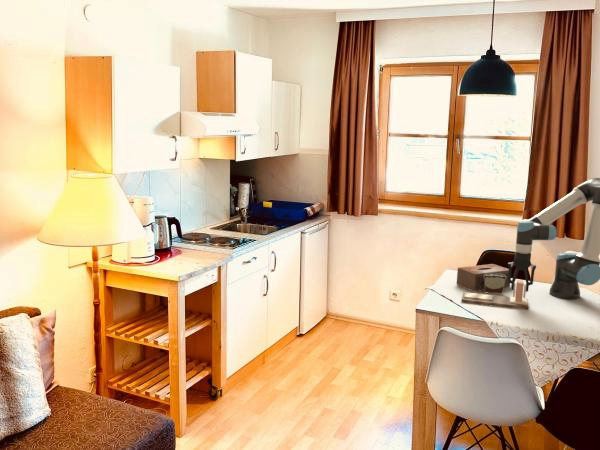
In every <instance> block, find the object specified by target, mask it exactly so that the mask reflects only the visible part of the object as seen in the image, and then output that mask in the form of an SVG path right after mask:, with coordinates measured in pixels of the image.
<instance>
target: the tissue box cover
mask: <svg viewBox="0 0 600 450" xmlns="http://www.w3.org/2000/svg"><path fill="white" fill-rule="evenodd" d="M489 272H493V273H501V274H504V275H506V277H507V279H505V284H504V288H511V283H509V282H508V274H509V268H507V267H503V266H501V265H497V264H494V263H489V264H481V265H480V264H479V265H471V266H461V267H457V273H456V285H457V286H459V287H463V288H464V287H465V288H464V289H467V290H469V289H470V291H472V292H479V290H481V291H485V285H484V278H483V276H484V274H485V273H489Z"/></svg>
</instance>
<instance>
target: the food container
mask: <svg viewBox="0 0 600 450" xmlns="http://www.w3.org/2000/svg"><path fill="white" fill-rule="evenodd" d="M483 278H484V285H485V290H484V293H485V292H489V294H502V293H504V290H505V289H504V288H505V287H504V284H505V279H507V277H506V275H504V274H501V273H493V272H489V273H485V274H484V276H483Z"/></svg>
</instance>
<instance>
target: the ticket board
mask: <svg viewBox="0 0 600 450" xmlns="http://www.w3.org/2000/svg"><path fill="white" fill-rule="evenodd" d="M461 296H462V297H461V303H463V304H464V303H465V304H473V303H474V305H475V304H476V305H481V304H483V306H490V305H492V306H491V307H498V308H499V307H502V308H506V309H507V308H508V309H515V310H516V309H518V310H525V311H526V310H527V311H528V310H529V309H530V306H529V302H528V301H529V300H527V305H523V304H514V303H510V297H511V296H504V295H502V296H501V295H493V294H486V293H485V294H484V293H477V292H476V293H475V292H465V291H463V292H462V295H461Z"/></svg>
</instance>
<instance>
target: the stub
mask: <svg viewBox="0 0 600 450" xmlns="http://www.w3.org/2000/svg"><path fill="white" fill-rule="evenodd" d="M524 284H525V283H524V280H521V279H516V287H515V297H513V296H509V297H510V303H514V304H523V305H527V301H528V298H523V294H524Z"/></svg>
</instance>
